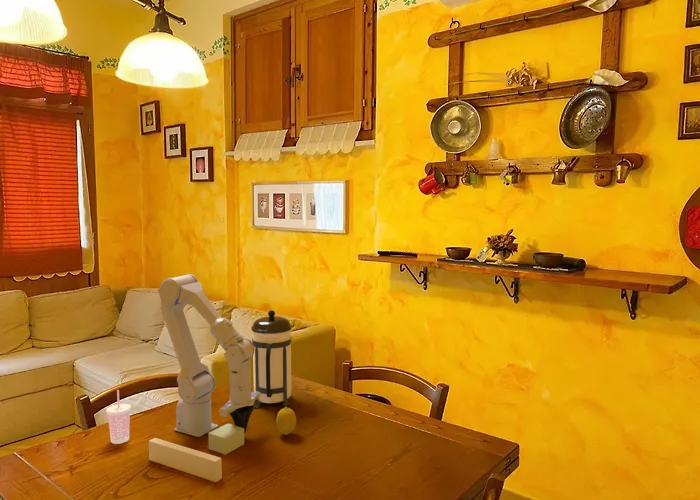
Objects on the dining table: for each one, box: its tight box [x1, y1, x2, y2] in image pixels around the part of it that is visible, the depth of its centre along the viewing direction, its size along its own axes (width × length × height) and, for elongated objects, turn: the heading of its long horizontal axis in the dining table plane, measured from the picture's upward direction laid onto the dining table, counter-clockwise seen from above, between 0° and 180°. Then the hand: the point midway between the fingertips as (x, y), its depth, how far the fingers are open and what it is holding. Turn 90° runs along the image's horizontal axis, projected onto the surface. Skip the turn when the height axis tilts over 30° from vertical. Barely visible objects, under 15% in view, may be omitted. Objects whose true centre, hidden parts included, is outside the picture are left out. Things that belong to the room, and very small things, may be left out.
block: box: [207, 423, 245, 455], centre depth 141 cm, size 6×7×4 cm
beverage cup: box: [106, 389, 132, 445], centre depth 144 cm, size 6×6×14 cm
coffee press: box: [251, 309, 293, 409], centre depth 169 cm, size 17×16×30 cm
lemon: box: [275, 407, 297, 436], centre depth 147 cm, size 6×6×8 cm
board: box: [148, 437, 223, 483], centre depth 129 cm, size 22×2×5 cm, turn 62°
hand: (241, 432), depth 146 cm, fingers closed
